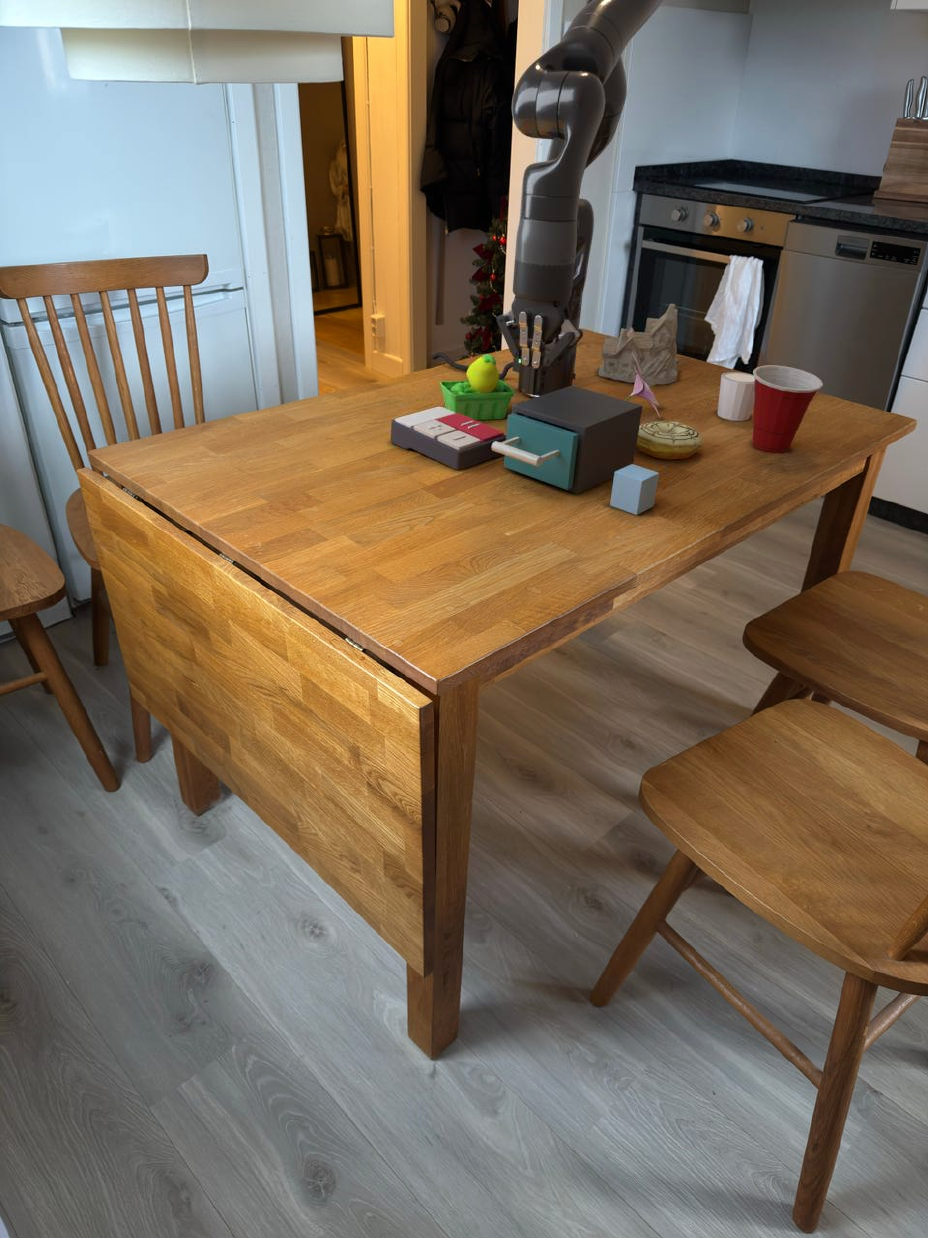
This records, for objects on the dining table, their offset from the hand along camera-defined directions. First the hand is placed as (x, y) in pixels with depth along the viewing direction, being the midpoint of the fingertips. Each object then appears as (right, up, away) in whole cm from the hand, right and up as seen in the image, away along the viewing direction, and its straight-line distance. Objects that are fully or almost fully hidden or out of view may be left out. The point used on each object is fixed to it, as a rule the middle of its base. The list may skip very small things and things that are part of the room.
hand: (533, 393), depth 121 cm
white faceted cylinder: (+39, +6, +40) cm, 56 cm away
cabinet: (+7, -8, +15) cm, 18 cm away
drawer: (+4, -9, +11) cm, 14 cm away
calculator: (-12, -4, +19) cm, 23 cm away
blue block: (+14, -15, +4) cm, 21 cm away
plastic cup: (+41, -2, +27) cm, 50 cm away
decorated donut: (+23, -4, +23) cm, 33 cm away
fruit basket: (-7, +4, +33) cm, 34 cm away
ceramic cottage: (+26, +19, +61) cm, 69 cm away
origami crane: (+22, +6, +39) cm, 45 cm away
